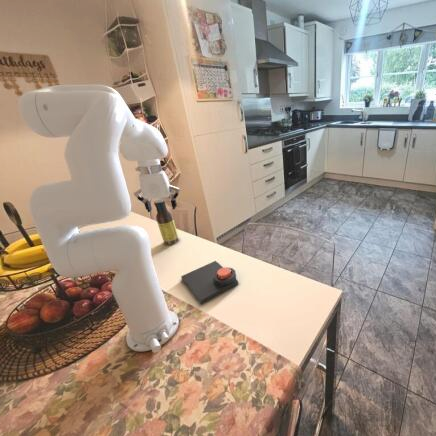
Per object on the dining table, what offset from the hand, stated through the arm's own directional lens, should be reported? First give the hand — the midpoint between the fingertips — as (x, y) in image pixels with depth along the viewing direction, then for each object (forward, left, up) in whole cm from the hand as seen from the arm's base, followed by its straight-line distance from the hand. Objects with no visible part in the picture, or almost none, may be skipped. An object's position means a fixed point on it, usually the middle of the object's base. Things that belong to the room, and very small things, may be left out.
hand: (162, 209), depth 102 cm
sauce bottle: (0, 0, -16) cm, 16 cm away
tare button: (-42, -4, -13) cm, 44 cm away
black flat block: (-38, 0, -16) cm, 41 cm away
